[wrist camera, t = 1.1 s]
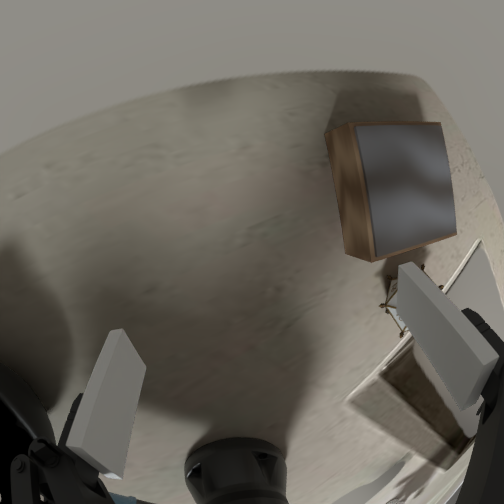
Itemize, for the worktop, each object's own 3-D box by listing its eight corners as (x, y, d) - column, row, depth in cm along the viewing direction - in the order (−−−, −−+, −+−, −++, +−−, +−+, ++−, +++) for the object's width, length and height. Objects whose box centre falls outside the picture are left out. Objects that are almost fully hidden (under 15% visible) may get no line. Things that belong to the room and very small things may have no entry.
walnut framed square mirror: (428, 230, 36) (459, 235, 30) (345, 253, 34) (373, 263, 28) (412, 129, 33) (442, 121, 28) (324, 133, 31) (350, 121, 25)
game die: (381, 272, 40) (434, 240, 32) (411, 317, 39) (465, 293, 31) (352, 306, 35) (415, 275, 27) (387, 357, 33) (451, 337, 26)
